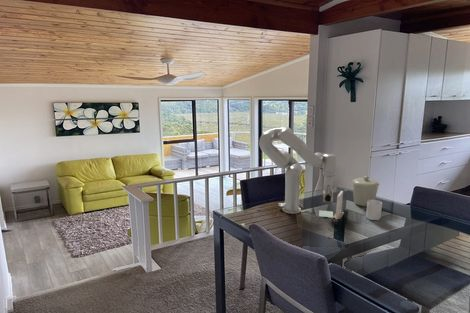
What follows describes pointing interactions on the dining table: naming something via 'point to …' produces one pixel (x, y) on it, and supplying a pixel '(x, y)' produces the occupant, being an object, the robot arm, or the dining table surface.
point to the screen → (339, 206)
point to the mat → (325, 214)
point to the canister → (364, 190)
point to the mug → (373, 209)
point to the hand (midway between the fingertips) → (327, 198)
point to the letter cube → (325, 196)
